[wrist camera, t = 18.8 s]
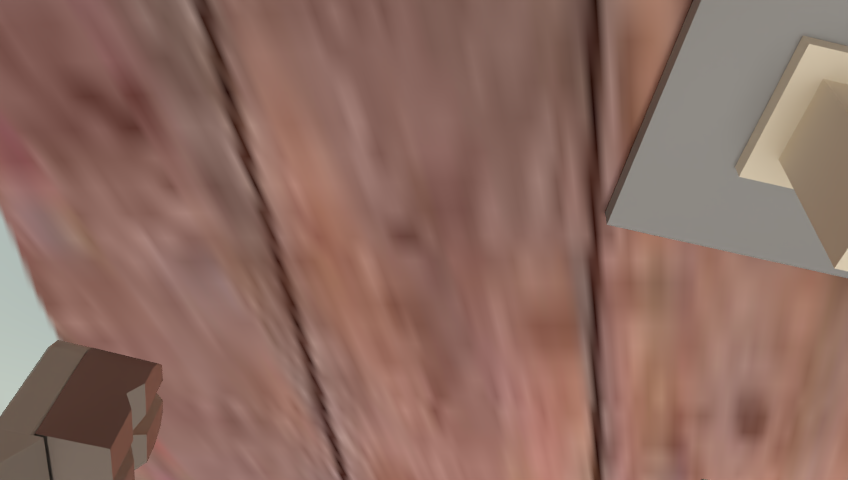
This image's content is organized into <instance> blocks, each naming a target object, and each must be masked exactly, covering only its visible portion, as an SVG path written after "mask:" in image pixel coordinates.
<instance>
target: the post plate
mask: <svg viewBox="0 0 848 480" xmlns="http://www.w3.org/2000/svg"><path fill="white" fill-rule="evenodd" d="M802 36H807V37H811V38H815V39H820V40H824V41H828V42H832V43H837V44H841V45H845V46H848V0H693V2H692V4H691V7H690V9H689V12H688V14H687V16H686V19H685V21H684V24H683V26H682V29H681V31H680V33H679V36H678V38H677V41H676V43H675V45H674V48H673V50H672V53H671V55H670V57H669V60H668V62H667V65H666V67H665V70H664V72H663V74H662V77H661V79H660V82H659V84H658V86H657V89H656V91H655V94H654V96H653V98H652V101H651V103H650V106H649V108H648V111H647V113H646V115H645V118H644V120H643V123H642V125H641V127H640V130H639V132H638V135H637V137H636V140H635V142H634V144H633V147H632V149H631V152H630V154H629V156H628V159H627V161H626V164H625V166H624V168H623V171H622V173H621V176H620V178H619V181H618V183H617V185H616V188H615V190H614V193H613V195H612V197H611V200H610V202H609V205H608V207H607V209H606V212H605V215H606V222H607V225H611V226H615V227H620V228H624V229H629V230H633V231H638V232H642V233H647V234H651V235H656V236H660V237H665V238H669V239H674V240H678V241H683V242H687V243H692V244H696V245H701V246H705V247H710V248H714V249H719V250H723V251H728V252H732V253H737V254H741V255H746V256H750V257H755V258H759V259H764V260H768V261H773V262H777V263H782V264H786V265H791V266H795V267H800V268H804V269H809V270H813V271H818V272H822V273H827V274H831V275H836V276H840V277H845V278H848V271H843V270H839V269H834V267H833V265H832V263H831V261H830V259H829V257H828V255H827V253H826V251H825V249H824V247H823V245H822V243H821V242H820V240H819V238H818V236H817V234H816V232H815V230H814V228H813V226H812V224H811V222H810V220H809V218H808V216H807V214H806V212H805V210H804V208H803V206H802V204H801V202H800V201H799V199H798V197H797V195H796V193H795V191H794V189H791V188H786V187H782V186H777V185H773V184H769V183H764V182H760V181H755V180H751V179H747V178H742V177H739V175H738V173H737V171H736V168H735V166H736V164H737V162H738V160H739V158H740V156H741V154H742V152H743V150H744V148H745V146H746V145H747V143H748V141H749V139H750V137H751V135H752V133H753V131H754V129H755V127H756V125H757V123H758V121H759V119H760V117H761V116H762V114H763V112H764V110H765V108H766V106H767V104H768V102H769V100H770V98H771V96H772V94H773V92H774V90H775V89H776V87H777V85H778V83H779V81H780V79H781V77H782V75H783V73H784V71H785V69H786V67H787V65H788V63H789V62H790V60H791V58H792V56H793V54H794V52H795V50H796V48H797V46H798V44H799V42H800V40H801V38H802Z"/></svg>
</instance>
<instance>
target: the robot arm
mask: <svg viewBox="0 0 848 480" xmlns="http://www.w3.org/2000/svg"><path fill="white" fill-rule="evenodd" d="M162 381H163V375H162V365H161V364H158V363H154V362H150V361H146V360H142V359H137V358H133V357H129V356H125V355H121V354H117V353H112V352H108V351H104V350H100V349H96V348H91V347H86V346H82V345H78V344H73V343H69V342H65V341H60V340H57V341H56V342H55V343H54V344H52V345H51V346H50V347H48V348H47V350H46V351H45V353H44V354H43V356H42V357H41V359H40V360H39V361H38V363H37V364H36V366H35V367H34V369H33V370H32V371H31V373H30V374H29V376H28V377H27V379H26V380H25V382H24V383H23V385H22V386H21V387H20V389H19V390H18V392H17V393H16V394H15V396H14V397H13V399H12V400H11V402H10V403H9V405H8V406H7V407H6V409H5V410H4V412H3V413H2V415H1V416H0V480H135V476H134V470H135V469H137V468H139V467H140V466H142V465H143V464H145V463H146V462H147V461H148V459H149V456H150V454H151V452H152V450H153V448H154V445H155V442H156V439H157V436H158V432H159V429H160V426H161V420H162V413H163V400H162V399H161V398H160V397H159V395H158V394H157V391H158V389H159V387H160V385H161V383H162ZM701 480H706V479H701Z"/></svg>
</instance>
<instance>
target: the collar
mask: <svg viewBox="0 0 848 480" xmlns="http://www.w3.org/2000/svg"><path fill="white" fill-rule="evenodd" d="M735 168H736V171H737V173H738V175H739V177H742V178H747V179H751V180H755V181H760V182H764V183H769V184H773V185H777V186H782V187H786V188H791V189H794V191H795V193H796V195H797V197H798V199H799V201H800V202H801V204H802V206H803V208H804V210H805V212H806V214H807V216H808V218H809V220H810V222H811V224H812V226H813V228H814V230H815V232H816V234H817V236H818V238H819V240H820V242H821V243H822V245H823V247H824V249H825V251H826V253H827V255H828V257H829V259H830V261H831V263H832V265H833V267H834V269H839V270H843V271H848V46H845V45H841V44H837V43H832V42H828V41H824V40H820V39H815V38H811V37H807V36H802V38H801V40H800V42H799V44H798V46H797V48H796V50H795V52H794V54H793V56H792V58H791V60H790V62H789V63H788V65H787V67H786V69H785V71H784V73H783V75H782V77H781V79H780V81H779V83H778V85H777V87H776V89H775V90H774V92H773V94H772V96H771V98H770V100H769V102H768V104H767V106H766V108H765V110H764V112H763V114H762V116H761V117H760V119H759V121H758V123H757V125H756V127H755V129H754V131H753V133H752V135H751V137H750V139H749V141H748V143H747V145H746V146H745V148H744V150H743V152H742V154H741V156H740V158H739V160H738V162H737V164H736V166H735Z"/></svg>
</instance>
